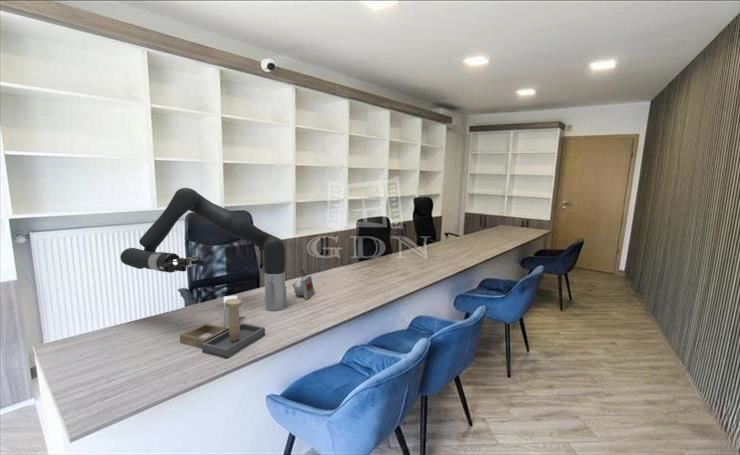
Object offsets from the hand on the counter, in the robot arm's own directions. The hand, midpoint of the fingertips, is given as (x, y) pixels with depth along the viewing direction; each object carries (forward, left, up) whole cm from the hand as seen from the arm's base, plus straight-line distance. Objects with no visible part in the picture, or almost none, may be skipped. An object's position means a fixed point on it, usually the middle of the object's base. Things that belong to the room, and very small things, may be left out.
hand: (195, 265), depth 134 cm
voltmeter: (-62, +8, -28) cm, 68 cm away
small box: (-14, +3, -28) cm, 31 cm away
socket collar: (+2, +6, -27) cm, 28 cm away
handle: (0, +18, -27) cm, 32 cm away
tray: (0, +18, -27) cm, 33 cm away
